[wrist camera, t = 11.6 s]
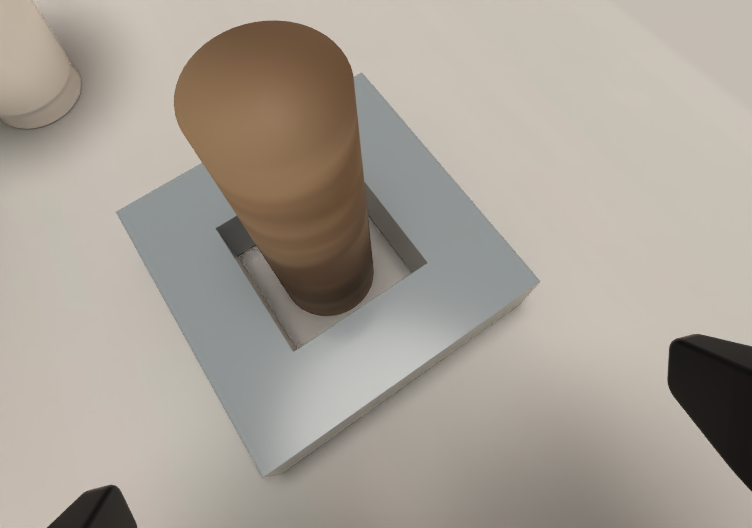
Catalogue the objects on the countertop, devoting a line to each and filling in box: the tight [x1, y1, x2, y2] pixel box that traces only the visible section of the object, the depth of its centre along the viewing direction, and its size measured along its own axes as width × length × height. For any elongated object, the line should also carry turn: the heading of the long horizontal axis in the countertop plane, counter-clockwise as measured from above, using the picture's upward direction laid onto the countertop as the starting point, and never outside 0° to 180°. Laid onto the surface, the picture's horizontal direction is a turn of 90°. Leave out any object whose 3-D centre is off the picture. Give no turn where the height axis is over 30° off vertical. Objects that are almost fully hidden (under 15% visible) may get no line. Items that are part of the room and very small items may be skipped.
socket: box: [116, 73, 540, 478], centre depth 21 cm, size 12×12×3 cm
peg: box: [174, 21, 373, 316], centre depth 17 cm, size 4×4×12 cm
